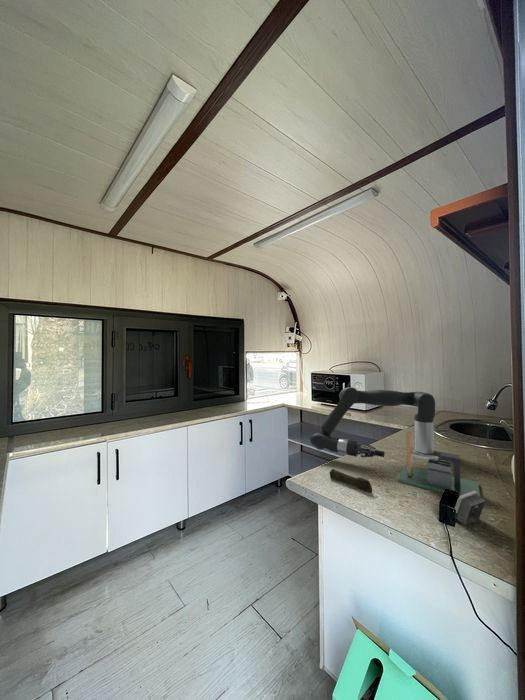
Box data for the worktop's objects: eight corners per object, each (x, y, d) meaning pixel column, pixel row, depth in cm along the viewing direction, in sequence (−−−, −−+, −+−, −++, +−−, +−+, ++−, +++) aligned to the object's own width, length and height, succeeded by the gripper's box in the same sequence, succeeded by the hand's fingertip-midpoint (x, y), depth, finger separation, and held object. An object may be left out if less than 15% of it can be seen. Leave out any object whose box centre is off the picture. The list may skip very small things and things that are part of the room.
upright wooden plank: (409, 470, 123) (408, 431, 123) (438, 477, 116) (437, 435, 116) (407, 475, 118) (406, 434, 118) (438, 482, 111) (437, 439, 111)
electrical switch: (468, 512, 93) (470, 487, 92) (485, 522, 88) (487, 496, 87) (450, 519, 89) (452, 493, 88) (467, 530, 84) (470, 502, 84)
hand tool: (329, 478, 120) (328, 468, 120) (334, 476, 122) (334, 466, 122) (368, 496, 105) (368, 484, 105) (373, 492, 107) (373, 481, 107)
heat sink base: (403, 468, 129) (403, 441, 129) (477, 484, 112) (477, 454, 112) (397, 481, 116) (397, 451, 116) (480, 502, 99) (479, 467, 99)
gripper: (343, 443, 131) (380, 450, 121) (352, 436, 142) (387, 442, 132) (343, 458, 131) (381, 467, 121) (352, 450, 142) (387, 457, 132)
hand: (384, 454), depth 126 cm, fingers closed
